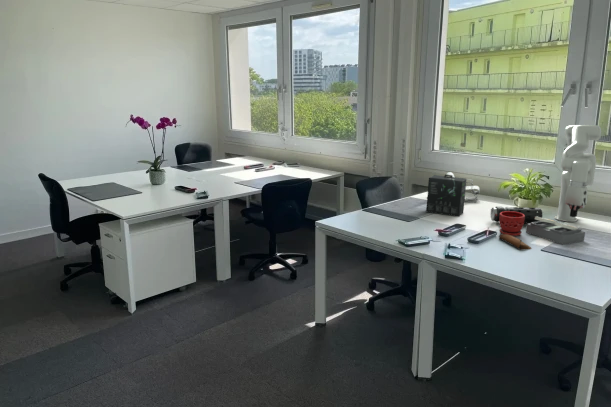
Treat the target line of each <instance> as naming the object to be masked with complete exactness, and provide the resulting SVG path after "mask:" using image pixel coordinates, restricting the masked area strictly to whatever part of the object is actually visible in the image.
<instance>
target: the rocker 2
mask: <svg viewBox="0 0 611 407" xmlns="http://www.w3.org/2000/svg"><path fill="white" fill-rule="evenodd" d="M554 225H557V226H560V227H564V228H568V229H571V230H577V229H579V228H578V227H576V226H573V225H569V224H565V223H561V222H558V221H556V222H555V224H554Z"/></svg>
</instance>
